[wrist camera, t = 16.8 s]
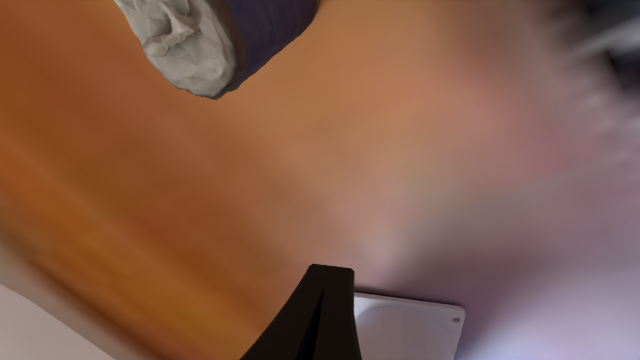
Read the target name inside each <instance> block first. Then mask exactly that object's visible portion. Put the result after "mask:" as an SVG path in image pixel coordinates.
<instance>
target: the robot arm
mask: <svg viewBox="0 0 640 360" xmlns="http://www.w3.org/2000/svg"><path fill="white" fill-rule="evenodd" d="M465 316H466V314H465V310H464V308H462V307H460V306H455V305H448V304H440V303H432V302H425V301H417V300H410V299H402V298H394V297H387V296H379V295H372V294H364V293H356V292H354V271H353V270H352V269H351V268H344V267H336V266H327V265H319V264H312V265H310V266H309V268H308V269H307V271H306V273H305V275H304V276H303V278H302V279H301V281H300V283H299V284H298V286H297V287H296V289H295V290H294V292H293V293H292V295H291V296H290V298H289V299H288V301H287V302H286V303H285V305H284V306H283V307H282V309H281V310H280V311H279V313H278V314H277V316H276V317H275V318H274V320H273V321H272V322H271V323H270V325H269V326H268V327H267V328H266V329H265V331H264V332H263V333H262V334H261V336H260V337H259V338H258V339H257V340H256V342H255V343H254V344H253V345H252V346H251V347H250V349H249V350H248V351H247V352H246V353H245V354H244V355H243V356H242V358H241V359H240V360H454V357H455V353H456V349H457V346H458V342H459V338H460V335H461V331H462V327H463V324H464V320H465Z"/></svg>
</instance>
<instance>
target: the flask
mask: <svg viewBox="0 0 640 360" xmlns="http://www.w3.org/2000/svg"><path fill="white" fill-rule="evenodd" d="M114 1H115V2H116V4H117V5H118V6H119V8H120V9H121V11H122V12H123V14H124V15H125V16H126V18H127V20H128V22H129V24H130V27H131V29H132V31H133V33H134V34H135V35H136V36H137V37H138V38H139V39H140V43H141V46H142V48H143V50H144V52H145V55H146V58H147V59H148V60H149V61H150V62H151V63H152V65H153V66H154V67H156V68H157V69H158V71H159V72H160V73H161V74H162V76H163V77H164V78H165V79H166V80H167V81H168V82H170V83H171V84H172V85H174V86H175V87H176V88H178V89H183V90H187V91H188V92H190V93H192V94H194V95H196V96H201V97H206V98H210V99H212V100H217V99H219V98H220V97H221V96H223V95H224V94H225V93H227V92H229V91H234V90H236V89H237V88H238V87H239V86H240V85H241V83H243V82H244V81H245V80H246V79H247V78H249V77H250V76H251V75H253V74H254V73H256V72H257V71H258V70H259V69H260V68H261V67H262V66H264V65H265V64H266V63H267V62H268V61H269V60H270V59H271V58H272V57H273V56H274V55H276V54H277V53H278V52H280V51H281V50H282V49H283V48H284V47H285V46H286V45H288V44H289V43H291V42H292V41H293V40H294V39H295V38H297V37H298V36H300V35H301V34H302V33H303V32H304V30H306V28H307V27H308V26H309V25H310V24H311V23H312V21H313V20H314V18H315V16H316V14H317V12H318V10H319V9H318V0H114Z"/></svg>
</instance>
